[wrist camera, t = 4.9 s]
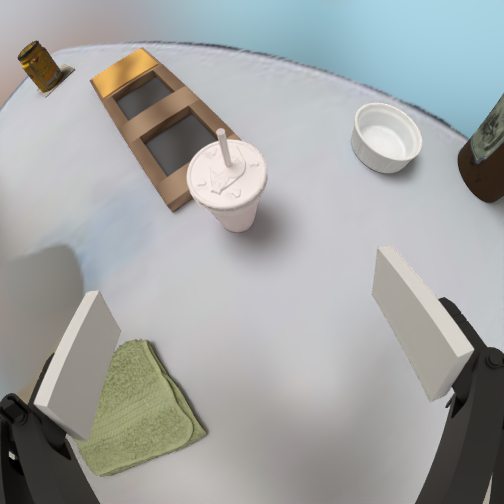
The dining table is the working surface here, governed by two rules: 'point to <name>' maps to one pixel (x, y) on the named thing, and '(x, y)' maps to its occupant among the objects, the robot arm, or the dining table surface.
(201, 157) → the smoothie
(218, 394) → the dining table surface
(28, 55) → the condiment
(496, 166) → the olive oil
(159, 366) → the washcloth
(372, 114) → the ramekin
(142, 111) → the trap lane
